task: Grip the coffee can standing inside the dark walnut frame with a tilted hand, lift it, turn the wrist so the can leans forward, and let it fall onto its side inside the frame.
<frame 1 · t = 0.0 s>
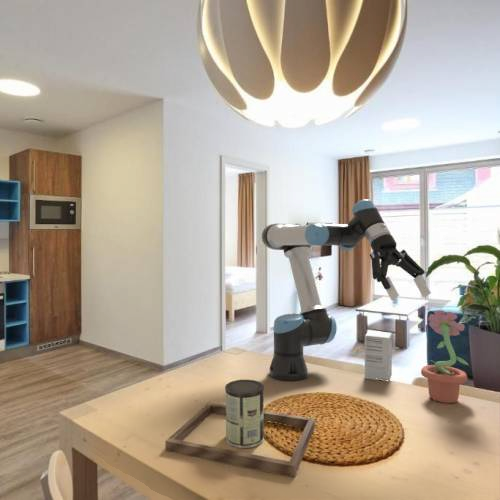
hand: (411, 296, 116), 36 cm above the table, tool tilted 35°, fingers open, 13 cm apart
coffee can: (244, 439, 103), resting in walnut frame
decorative flower: (445, 400, 129), on the table
supplement box: (378, 377, 151), on the table
walnut frame: (244, 438, 103), on the table
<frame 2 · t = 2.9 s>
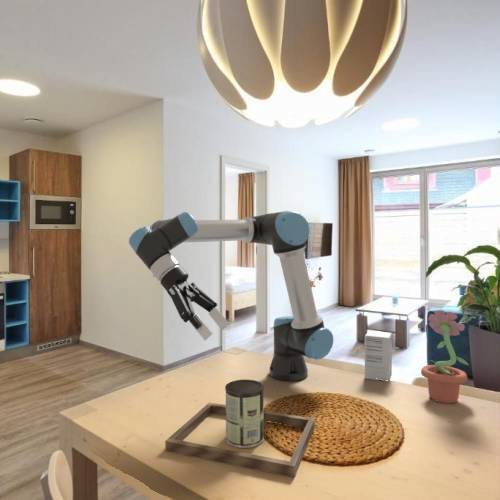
hand: (218, 332, 105), 28 cm above the table, tool tilted 45°, fingers open, 13 cm apart
nothing on the table moved.
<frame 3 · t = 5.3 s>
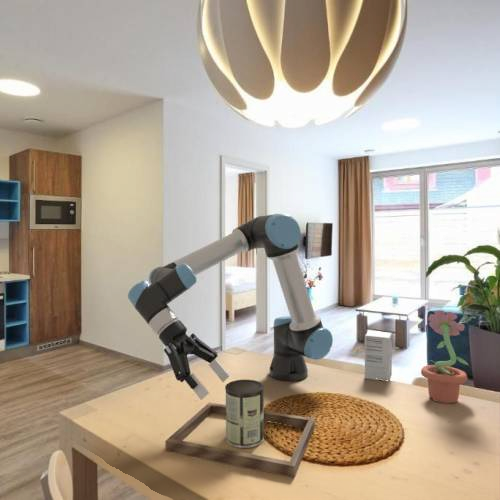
hand: (216, 387, 105), 13 cm above the table, tool tilted 45°, fingers open, 13 cm apart
nothing on the table moved.
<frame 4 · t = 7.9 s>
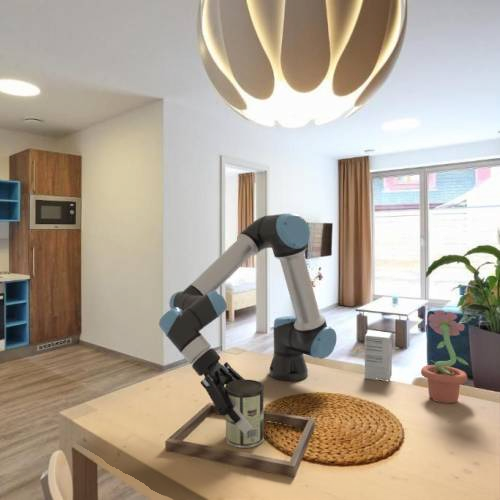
hand: (255, 421, 102), 5 cm above the table, tool tilted 45°, fingers closed on coffee can, 10 cm apart
coffee can: (244, 439, 103), resting in walnut frame, touching gripper
everything else where it was.
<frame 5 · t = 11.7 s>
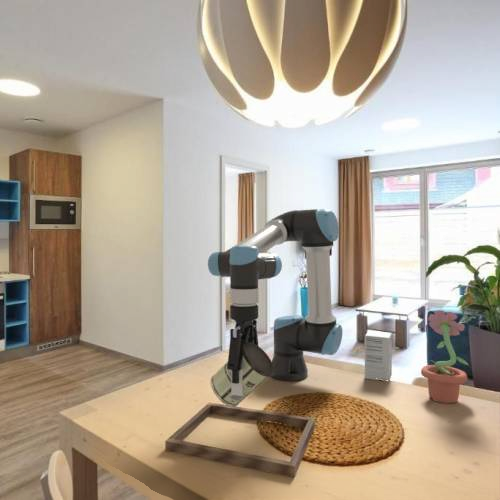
hand: (244, 387, 103), 14 cm above the table, tool pointing down, fingers closed on coffee can, 10 cm apart
coffee can: (224, 390, 105), point 12 cm above the table, touching gripper
everything else where it was.
when the fingers open (6 cm above the table, at t = 14.4 s): coffee can moves 4 cm, point 5 cm above the table.
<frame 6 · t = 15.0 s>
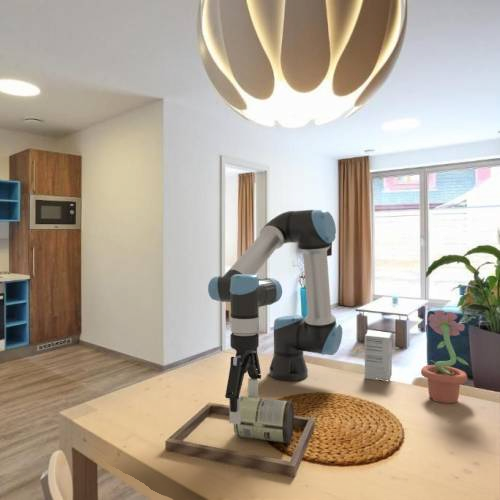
hand: (244, 412, 103), 7 cm above the table, tool pointing down, fingers open, 13 cm apart
coffee can: (238, 415, 105), point 5 cm above the table, touching gripper
everything else where it was.
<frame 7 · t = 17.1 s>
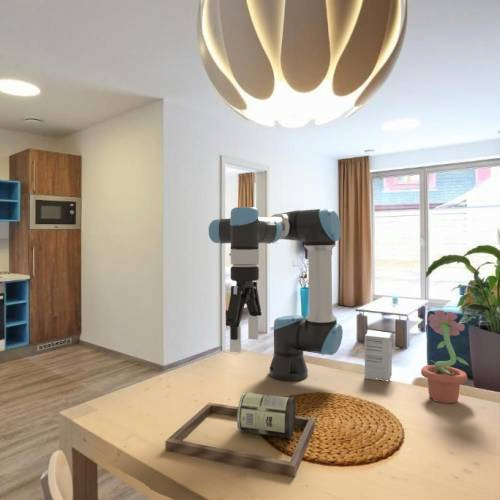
hand: (245, 345, 103), 25 cm above the table, tool pointing down, fingers open, 13 cm apart
coffee can: (241, 411, 108), point 5 cm above the table
everything else where it was.
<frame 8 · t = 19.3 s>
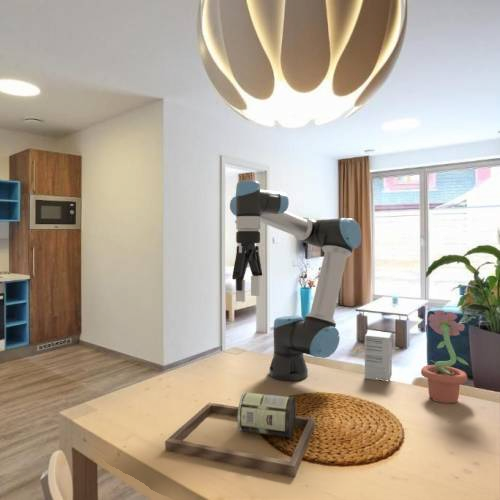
hand: (248, 298, 121), 35 cm above the table, tool pointing down, fingers open, 13 cm apart
nothing on the table moved.
at the end: coffee can tilted 90°; coffee can inside the target area on the walnut frame (5.2 cm from its centre), point 5.1 cm above the walnut frame's base; the gripper is holding nothing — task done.
